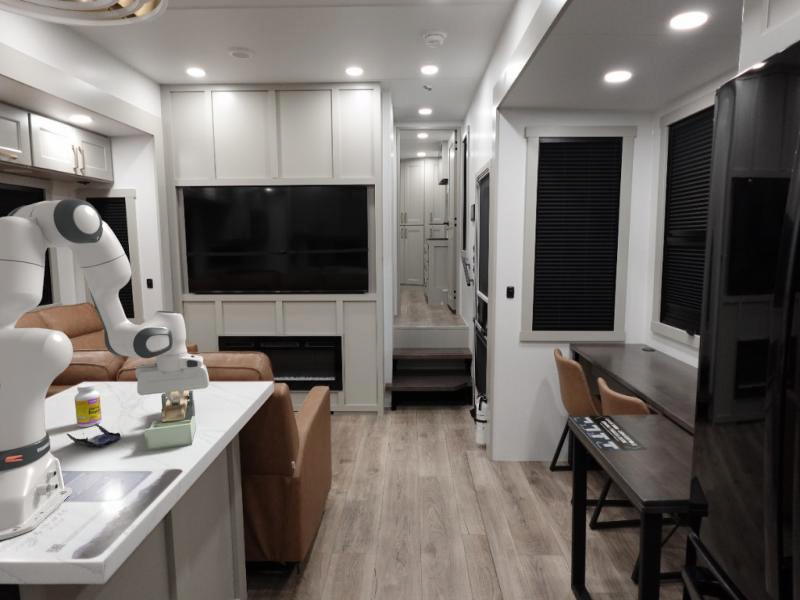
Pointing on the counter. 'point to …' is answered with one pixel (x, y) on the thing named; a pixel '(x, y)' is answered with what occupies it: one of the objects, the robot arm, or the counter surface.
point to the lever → (175, 407)
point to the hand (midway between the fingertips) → (175, 404)
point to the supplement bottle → (87, 405)
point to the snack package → (98, 438)
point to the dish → (170, 434)
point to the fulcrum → (189, 410)
